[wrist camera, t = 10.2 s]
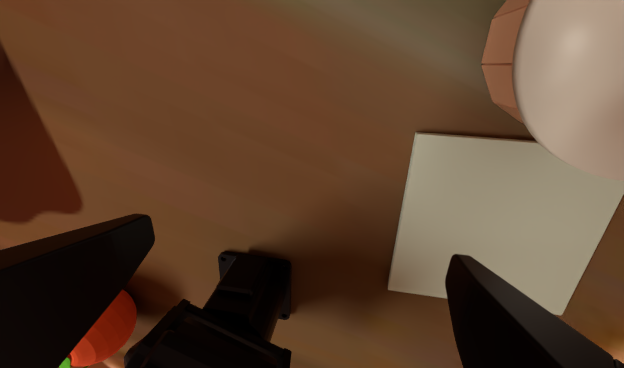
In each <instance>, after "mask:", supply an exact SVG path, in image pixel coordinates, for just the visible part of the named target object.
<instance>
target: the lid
mask: <svg viewBox="0 0 624 368" xmlns="http://www.w3.org/2000/svg"><path fill="white" fill-rule="evenodd" d="M512 84H513V92H514V97H515V102H516V106H517V108H518V111H519V114H520V116H521V119H522V121H523V122H524V124H525V126H526V128H527V129H528V131H529V133H530V134H531V135H532V136H533V137H534V138H535V140H536V141H537V142H538V143H539V144H540V145H541V146H542V147H543V148H544V149H546V150H547V151H548V152H549V153H550V154H552V155H554V156H555V157H557V158H559V159H560V160H562V161H564V162H565V163H567V164H569V165H572V166H574V167H576V168H578V169H580V170H583V171H585V172H588V173H590V174H592V175H596V176H600V177H604V178H608V179H613V180H620V181H624V0H530V1H529V3H528V6H527V8H526V10H525V12H524V15H523V18H522V21H521V24H520V27H519V30H518V33H517V37H516V42H515V47H514V52H513V62H512Z"/></svg>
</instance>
